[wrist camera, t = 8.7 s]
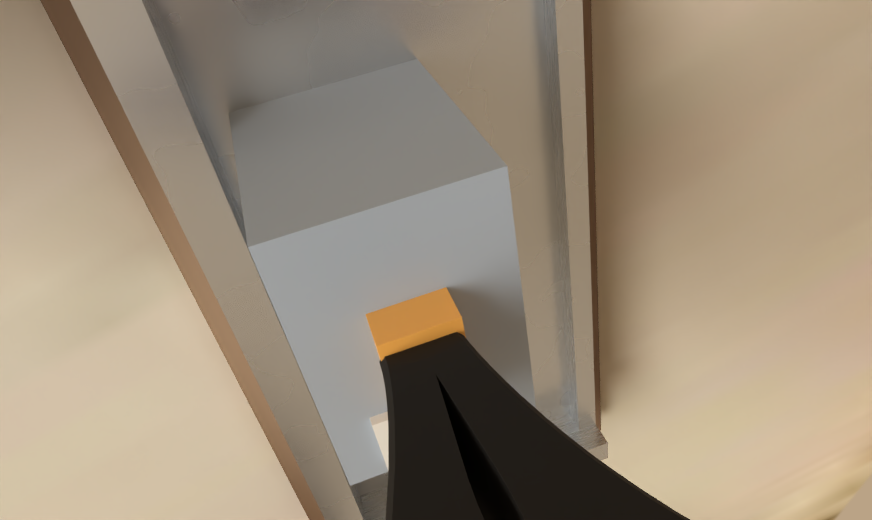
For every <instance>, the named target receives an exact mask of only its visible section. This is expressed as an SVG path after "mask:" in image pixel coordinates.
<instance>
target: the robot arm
mask: <svg viewBox="0 0 872 520" xmlns="http://www.w3.org/2000/svg"><path fill="white" fill-rule="evenodd" d="M379 363H380V366H381V370H382V373H383V379H384V384H385V391H386V399H387V412H388V463H389V466H388V487H387V503H386V518H385V520H690V519H688V518H686V517H684V516H683V515H681V514H679V513H678V512H676V511H674V510H673V509H671V508H670V507H668V506H667V505H665V504H663V503H662V502H660V501H659V500H657V499H656V498H654V497H653V496H651V495H649V494H648V493H646V492H645V491H643V490H642V489H640V488H639V487H637V486H636V485H634V484H633V483H631V482H630V481H628V480H627V479H626V478H624V477H623V476H621V475H620V474H618V473H617V472H615V471H614V470H613V469H611V468H610V467H608V466H607V465H606V464H604V463H603V462H602V461H600V460H599V459H598V458H596V457H595V456H594V455H592V454H591V453H590V452H588V451H587V450H586V449H584V448H583V447H582V446H581V445H579V444H578V443H577V442H575V441H574V440H573V439H572V438H570V437H569V436H568V435H567V434H565V433H564V432H563V431H562V430H560V429H559V428H558V427H557V426H556V425H554V424H553V423H552V422H551V421H550V420H548V419H547V418H546V417H545V416H544V415H543V414H542V413H540V412H539V411H538V410H537V409H536V408H535V407H534V406H533V405H531V404H530V403H529V402H528V401H527V400H526V399H525V398H524V397H522V396H521V395H520V394H519V393H518V392H517V391H516V390H515V389H514V388H513V387H512V386H511V385H510V384H508V383H507V382H506V381H505V380H504V379H503V378H502V377H501V376H500V375H499V374H498V373H497V372H496V371H495V370H494V369H493V368H492V367H491V366H490V365H489V363H488V362H487V361H486V360H485V359H484V358H483V357H482V356H481V355H480V354H479V353H478V352H477V351H476V349H475V348H474V347H473V346H472V345H471V344H470V342H469V341H468V340H467V339H466V338H465V336H464V335H462V334H460V333H458V332H455V333H452V334H449V335H446V336H443V337H440V338H437V339H435V340H432V341H429V342H426V343H423V344H420V345H417V346H414V347H412V348H409V349H406V350H403V351H400V352H397V353H394V354H391V355H388V356H385V357H384V359H383V360H382V361H381V360H380V361H379Z"/></svg>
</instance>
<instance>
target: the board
mask: <svg viewBox="0 0 872 520" xmlns="http://www.w3.org/2000/svg"><path fill="white" fill-rule="evenodd" d="M582 1H583V34H584V66H585V98H586V130H587V162H588V194H589V226H590V258H591V290H592V322H593V354H594V386H595V418H596V426H597V427H598V429H599V430H601V412H600V370H599V328H598V286H597V244H596V202H595V160H594V118H593V76H592V34H591V0H582ZM41 2H42V4H43V6H44V8H45V10H46V12H47V14H48V16H49V18H50V20H51V22H52V24H53V26H54V27H55V29H56V31H57V33H58V35H59V37H60V39H61V41H62V43H63V45H64V47H65V49H66V51H67V53H68V55H69V56H70V58H71V60H72V62H73V64H74V66H75V68H76V70H77V72H78V74H79V76H80V78H81V80H82V82H83V84H84V85H85V87H86V89H87V91H88V93H89V95H90V97H91V99H92V101H93V103H94V105H95V107H96V109H97V111H98V112H99V114H100V116H101V118H102V120H103V122H104V124H105V126H106V128H107V130H108V132H109V134H110V136H111V138H112V140H113V141H114V143H115V145H116V147H117V149H118V151H119V153H120V155H121V157H122V159H123V161H124V163H125V165H126V167H127V168H128V170H129V172H130V174H131V176H132V178H133V180H134V182H135V184H136V186H137V188H138V190H139V192H140V194H141V196H142V197H143V199H144V201H145V203H146V205H147V207H148V209H149V211H150V213H151V215H152V217H153V219H154V221H155V223H156V224H157V226H158V228H159V230H160V232H161V234H162V236H163V238H164V240H165V242H166V244H167V246H168V248H169V250H170V252H171V253H172V255H173V257H174V259H175V261H176V263H177V265H178V267H179V269H180V271H181V273H182V275H183V277H184V279H185V280H186V282H187V284H188V286H189V288H190V290H191V292H192V294H193V296H194V298H195V300H196V302H197V304H198V306H199V308H200V309H201V311H202V313H203V315H204V317H205V319H206V321H207V323H208V325H209V327H210V329H211V331H212V333H213V335H214V337H215V338H216V340H217V342H218V344H219V346H220V348H221V350H222V352H223V354H224V356H225V358H226V360H227V362H228V364H229V365H230V367H231V369H232V371H233V373H234V375H235V377H236V379H237V381H238V383H239V385H240V387H241V389H242V391H243V393H244V394H245V396H246V398H247V400H248V402H249V404H250V406H251V408H252V410H253V412H254V414H255V416H256V418H257V420H258V421H259V423H260V425H261V427H262V429H263V431H264V433H265V435H266V437H267V439H268V441H269V443H270V445H271V447H272V449H273V450H274V452H275V454H276V456H277V458H278V460H279V462H280V464H281V466H282V468H283V470H284V472H285V474H286V476H287V477H288V479H289V481H290V483H291V485H292V487H293V489H294V491H295V493H296V495H297V497H298V499H299V501H300V503H301V505H302V506H303V508H304V510H305V512H306V514H307V516H308V518H309V520H325V519H324V517H323V515H322V512H321V510H320V508H319V506H318V504H317V502H316V500H315V498H314V496H313V494H312V492H311V490H310V488H309V486H308V484H307V482H306V480H305V478H304V476H303V474H302V472H301V470H300V468H299V466H298V464H297V462H296V460H295V458H294V455H293V453H292V451H291V449H290V447H289V445H288V443H287V441H286V439H285V437H284V435H283V433H282V431H281V429H280V427H279V425H278V423H277V421H276V419H275V417H274V415H273V413H272V411H271V409H270V407H269V405H268V403H267V401H266V399H265V396H264V394H263V392H262V390H261V388H260V386H259V384H258V382H257V380H256V378H255V376H254V374H253V372H252V370H251V368H250V366H249V364H248V362H247V360H246V358H245V356H244V354H243V352H242V350H241V348H240V346H239V344H238V342H237V339H236V337H235V335H234V333H233V331H232V329H231V327H230V325H229V323H228V321H227V319H226V317H225V315H224V313H223V311H222V309H221V307H220V305H219V303H218V301H217V299H216V297H215V295H214V293H213V291H212V289H211V287H210V285H209V283H208V280H207V278H206V276H205V274H204V272H203V270H202V268H201V266H200V264H199V262H198V260H197V258H196V256H195V254H194V252H193V250H192V248H191V246H190V244H189V242H188V240H187V238H186V236H185V234H184V232H183V230H182V228H181V226H180V223H179V221H178V219H177V217H176V215H175V213H174V211H173V209H172V207H171V205H170V203H169V201H168V199H167V197H166V195H165V193H164V191H163V189H162V187H161V185H160V183H159V181H158V179H157V177H156V175H155V173H154V171H153V169H152V167H151V164H150V162H149V160H148V158H147V156H146V154H145V152H144V150H143V148H142V146H141V144H140V142H139V140H138V138H137V136H136V134H135V132H134V130H133V128H132V126H131V124H130V122H129V120H128V118H127V116H126V114H125V112H124V110H123V107H122V105H121V103H120V101H119V99H118V97H117V95H116V93H115V91H114V89H113V87H112V85H111V83H110V81H109V79H108V77H107V75H106V73H105V71H104V69H103V67H102V65H101V63H100V61H99V59H98V57H97V55H96V53H95V51H94V48H93V46H92V44H91V42H90V40H89V38H88V36H87V34H86V32H85V30H84V28H83V26H82V24H81V22H80V20H79V18H78V16H77V14H76V12H75V10H74V8H73V6H72V4H71V2H70V0H41Z"/></svg>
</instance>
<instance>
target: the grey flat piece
mask: <svg viewBox="0 0 872 520" xmlns="http://www.w3.org/2000/svg"><path fill="white" fill-rule="evenodd" d="M70 2H71V4H72V6H73V8H74V10H75V12H76V14H77V16H78V18H79V20H80V22H81V24H82V26H83V28H84V30H85V32H86V34H87V36H88V38H89V40H90V42H91V44H92V46H93V48H94V51H95V53H96V55H97V57H98V59H99V61H100V63H101V65H102V67H103V69H104V71H105V73H106V75H107V77H108V79H109V81H110V83H111V85H112V87H113V89H114V91H115V93H116V95H117V97H118V99H119V101H120V103H121V105H122V107H123V110H124V112H125V114H126V116H127V118H128V120H129V122H130V124H131V126H132V128H133V130H134V132H135V134H136V136H137V138H138V140H139V142H140V144H141V146H142V148H143V150H144V152H145V154H146V156H147V158H148V160H149V162H150V164H151V167H152V169H153V171H154V173H155V175H156V177H157V179H158V181H159V183H160V185H161V187H162V189H163V191H164V193H165V195H166V197H167V199H168V201H169V203H170V205H171V207H172V209H173V211H174V213H175V215H176V217H177V219H178V221H179V223H180V226H181V228H182V230H183V232H184V234H185V236H186V238H187V240H188V242H189V244H190V246H191V248H192V250H193V252H194V254H195V256H196V258H197V260H198V262H199V264H200V266H201V268H202V270H203V272H204V274H205V276H206V278H207V280H208V283H209V285H210V287H211V289H212V291H213V293H214V295H215V297H216V299H217V301H218V303H219V305H220V307H221V309H222V311H223V313H224V315H225V317H226V319H227V321H228V323H229V325H230V327H231V329H232V331H233V333H234V335H235V337H236V339H237V342H238V344H239V346H240V348H241V350H242V352H243V354H244V356H245V358H246V360H247V362H248V364H249V366H250V368H251V370H252V372H253V374H254V376H255V378H256V380H257V382H258V384H259V386H260V388H261V390H262V392H263V394H264V396H265V399H266V401H267V403H268V405H269V407H270V409H271V411H272V413H273V415H274V417H275V419H276V421H277V423H278V425H279V427H280V429H281V431H282V433H283V435H284V437H285V439H286V441H287V443H288V445H289V447H290V449H291V451H292V453H293V455H294V458H295V460H296V462H297V464H298V466H299V468H300V470H301V472H302V474H303V476H304V478H305V480H306V482H307V484H308V486H309V488H310V490H311V492H312V494H313V496H314V498H315V500H316V502H317V504H318V506H319V508H320V510H321V512H322V515H323V517H324V519H325V520H385V518H386V503H387V487H388V472H386V473H383V474H381V475H378V476H375V477H373V478H370V479H367V480H365V481H362V482H359V483H356V484H354V485H351V486H350V484H349V482H348V479H347V477H346V475H345V472H344V470H343V468H342V465H341V463H340V461H339V458H338V456H337V454H336V451H335V449H334V447H333V444H332V442H331V440H330V437H329V435H328V433H327V430H326V428H325V426H324V423H323V421H322V419H321V416H320V414H319V412H318V409H317V407H316V405H315V402H314V400H313V398H312V395H311V393H310V391H309V388H308V386H307V384H306V381H305V379H304V377H303V374H302V372H301V370H300V367H299V365H298V363H297V360H296V358H295V356H294V353H293V351H292V349H291V346H290V344H289V342H288V339H287V337H286V335H285V332H284V330H283V328H282V326H281V323H280V321H279V319H278V316H277V314H276V312H275V309H274V307H273V305H272V302H271V300H270V298H269V295H268V293H267V291H266V288H265V286H264V284H263V281H262V279H261V277H260V274H259V272H258V270H257V267H256V265H255V263H254V260H253V258H252V256H251V253H250V251H249V249H248V245H247V238H246V231H245V224H244V217H243V210H242V203H241V196H240V189H239V182H238V175H237V168H236V161H235V154H234V147H233V140H232V133H231V126H230V119H229V112H233V111H236V110H240V109H243V108H247V107H250V106H254V105H257V104H261V103H264V102H268V101H271V100H275V99H278V98H282V97H285V96H289V95H292V94H296V93H299V92H303V91H306V90H310V89H313V88H317V87H320V86H324V85H327V84H331V83H334V82H338V81H341V80H345V79H348V78H352V77H355V76H359V75H362V74H366V73H369V72H373V71H376V70H380V69H383V68H387V67H390V66H394V65H397V64H401V63H404V62H408V61H411V60H415V59H418V60H419V62H420V63H421V64H422V65H423V66H424V68H425V69H426V70H427V71H428V72H429V74H430V75H431V76H432V77H433V78H434V79H435V81H436V82H437V83H438V84H439V85H440V87H441V88H442V89H443V90H444V91H445V92H446V94H447V95H448V96H449V97H450V98H451V100H452V101H453V102H454V103H455V104H456V105H457V107H458V108H459V109H460V110H461V111H462V113H463V114H464V115H465V116H466V117H467V119H468V120H469V121H470V122H471V123H472V124H473V126H474V127H475V128H476V129H477V130H478V132H479V133H480V134H481V135H482V136H483V137H484V139H485V140H486V141H487V142H488V143H489V145H490V146H491V147H492V148H493V149H494V151H495V152H496V153H497V154H498V155H499V156H500V158H501V159H502V160H503V161H504V162H505V164H506V165H507V167H508V175H509V184H510V192H511V201H512V209H513V218H514V226H515V234H516V243H517V251H518V260H519V268H520V277H521V285H522V293H523V302H524V310H525V319H526V327H527V336H528V344H529V352H530V361H531V369H532V378H533V386H534V395H535V403H536V409H537V410H538V411H539V412H540V413H542V414H543V415H544V416H545V417H546V418H547V419H548V420H550V421H551V422H552V423H553V424H554V425H556V426H557V427H558V428H559V429H560V430H562V431H563V432H564V433H565V434H567V435H568V436H569V437H570V438H572V439H573V440H574V441H575V442H577V443H578V444H579V445H581V446H582V447H583V448H584V449H586V450H587V451H588V452H590V453H591V454H592V455H594V456H595V457H596V458H598V459H599V460H603V459H606V458H608V443H607V441H606V439H605V438H604V436H603V435H602V433H601V432H600V430H599V429H598V427H597V426H596V418H595V386H594V354H593V322H592V290H591V258H590V226H589V194H588V162H587V130H586V98H585V66H584V34H583V1H582V0H70Z"/></svg>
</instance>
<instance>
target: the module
mask: <svg viewBox="0 0 872 520" xmlns="http://www.w3.org/2000/svg"><path fill="white" fill-rule="evenodd" d="M229 119H230V126H231V133H232V140H233V147H234V154H235V161H236V168H237V175H238V182H239V189H240V196H241V203H242V210H243V217H244V224H245V231H246V238H247V245H248V249H249V251H250V253H251V256H252V258H253V260H254V263H255V265H256V267H257V270H258V272H259V274H260V277H261V279H262V281H263V284H264V286H265V288H266V291H267V293H268V295H269V298H270V300H271V302H272V305H273V307H274V309H275V312H276V314H277V316H278V319H279V321H280V323H281V326H282V328H283V330H284V332H285V335H286V337H287V339H288V342H289V344H290V346H291V349H292V351H293V353H294V356H295V358H296V360H297V363H298V365H299V367H300V370H301V372H302V374H303V377H304V379H305V381H306V384H307V386H308V388H309V391H310V393H311V395H312V398H313V400H314V402H315V405H316V407H317V409H318V412H319V414H320V416H321V419H322V421H323V423H324V426H325V428H326V430H327V433H328V435H329V437H330V440H331V442H332V444H333V447H334V449H335V451H336V454H337V456H338V458H339V461H340V463H341V465H342V468H343V470H344V472H345V475H346V477H347V479H348V482H349V484H350V486H351V485H354V484H356V483H359V482H362V481H365V480H367V479H370V478H373V477H375V476H378V475H381V474H383V473H386V472H388V466H389V463H388V412H387V399H386V391H385V384H384V379H383V373H382V370H381V366H380V363H379V361H380V360H381V361H382V360H383V359H384V357H385V356H388V355H391V354H394V353H397V352H400V351H403V350H406V349H409V348H412V347H414V346H417V345H420V344H423V343H426V342H429V341H432V340H435V339H437V338H440V337H443V336H446V335H449V334H452V333H455V332H458V333H460V334H462V335H464V336H465V338H466V339H467V340H468V341H469V342H470V344H471V345H472V346H473V347H474V348H475V349H476V351H477V352H478V353H479V354H480V355H481V356H482V357H483V358H484V359H485V360H486V361H487V362H488V363H489V365H490V366H491V367H492V368H493V369H494V370H495V371H496V372H497V373H498V374H499V375H500V376H501V377H502V378H503V379H504V380H505V381H506V382H507V383H508V384H510V385H511V386H512V387H513V388H514V389H515V390H516V391H517V392H518V393H519V394H520V395H521V396H522V397H524V398H525V399H526V400H527V401H528V402H529V403H530V404H531V405H533V406H534V407H535V408H536V403H535V395H534V386H533V378H532V369H531V361H530V352H529V344H528V336H527V327H526V319H525V310H524V302H523V293H522V285H521V277H520V268H519V260H518V251H517V243H516V234H515V226H514V218H513V209H512V201H511V192H510V184H509V175H508V167H507V165H506V164H505V162H504V161H503V160H502V159H501V158H500V156H499V155H498V154H497V153H496V152H495V151H494V149H493V148H492V147H491V146H490V145H489V143H488V142H487V141H486V140H485V139H484V137H483V136H482V135H481V134H480V133H479V132H478V130H477V129H476V128H475V127H474V126H473V124H472V123H471V122H470V121H469V120H468V119H467V117H466V116H465V115H464V114H463V113H462V111H461V110H460V109H459V108H458V107H457V105H456V104H455V103H454V102H453V101H452V100H451V98H450V97H449V96H448V95H447V94H446V92H445V91H444V90H443V89H442V88H441V87H440V85H439V84H438V83H437V82H436V81H435V79H434V78H433V77H432V76H431V75H430V74H429V72H428V71H427V70H426V69H425V68H424V66H423V65H422V64H421V63H420V62H419V60H418V59H415V60H411V61H408V62H404V63H401V64H397V65H394V66H390V67H387V68H383V69H380V70H376V71H373V72H369V73H366V74H362V75H359V76H355V77H352V78H348V79H345V80H341V81H338V82H334V83H331V84H327V85H324V86H320V87H317V88H313V89H310V90H306V91H303V92H299V93H296V94H292V95H289V96H285V97H282V98H278V99H275V100H271V101H268V102H264V103H261V104H257V105H254V106H250V107H247V108H243V109H240V110H236V111H233V112H229Z"/></svg>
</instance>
